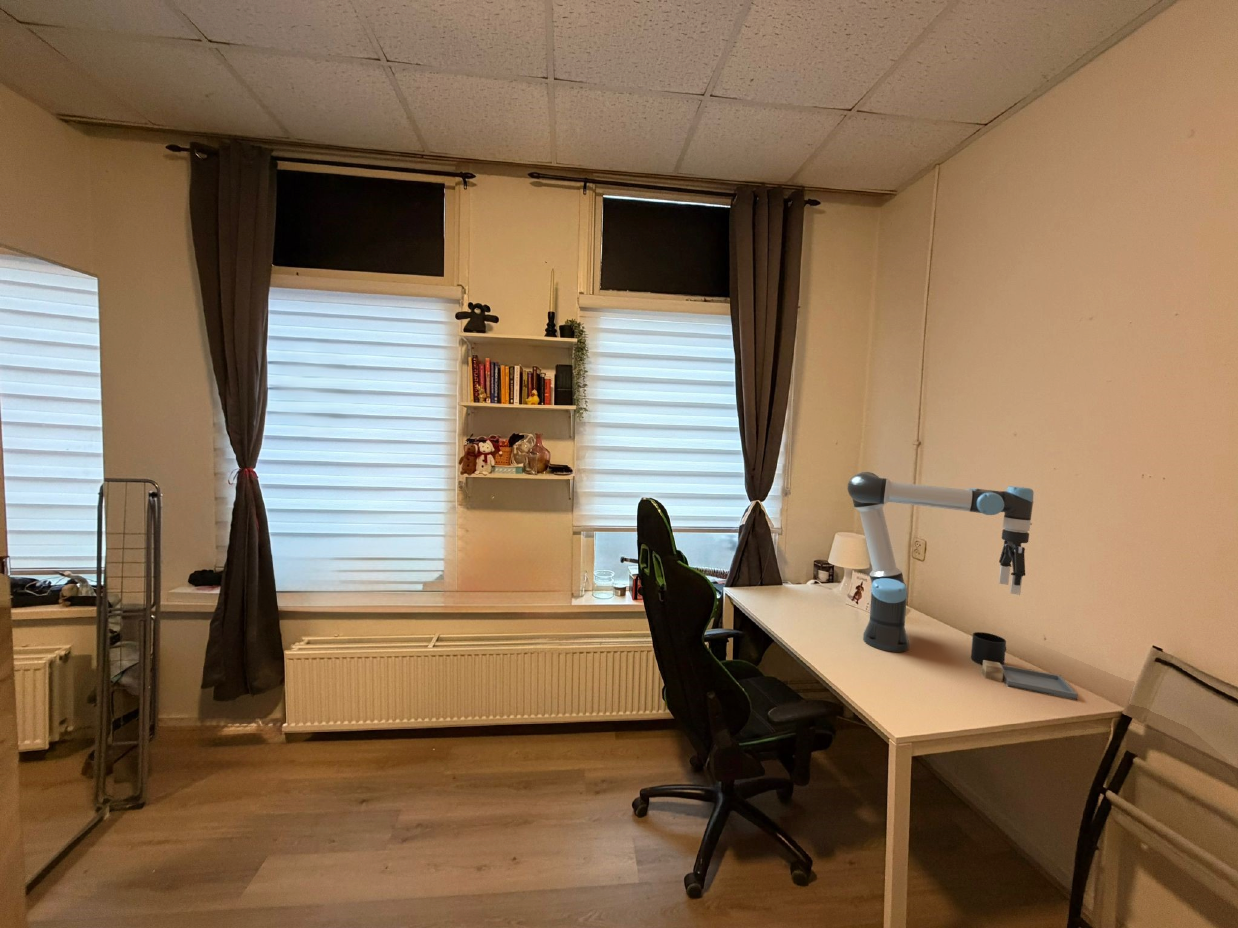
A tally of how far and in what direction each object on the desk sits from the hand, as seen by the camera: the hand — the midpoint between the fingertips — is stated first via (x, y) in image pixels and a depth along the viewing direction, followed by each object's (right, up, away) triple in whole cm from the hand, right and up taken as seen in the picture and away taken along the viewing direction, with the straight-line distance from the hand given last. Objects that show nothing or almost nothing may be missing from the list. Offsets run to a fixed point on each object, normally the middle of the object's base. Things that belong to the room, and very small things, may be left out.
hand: (1009, 588), depth 180 cm
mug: (-9, -25, -3) cm, 27 cm away
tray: (-6, -26, -18) cm, 32 cm away
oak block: (-17, -25, -15) cm, 34 cm away
